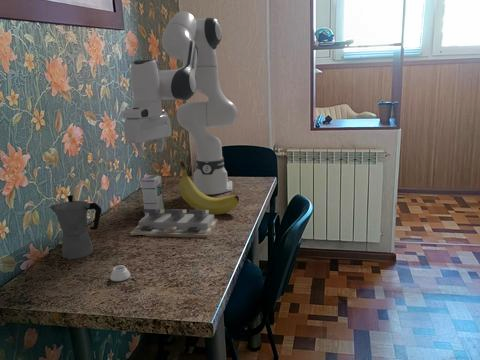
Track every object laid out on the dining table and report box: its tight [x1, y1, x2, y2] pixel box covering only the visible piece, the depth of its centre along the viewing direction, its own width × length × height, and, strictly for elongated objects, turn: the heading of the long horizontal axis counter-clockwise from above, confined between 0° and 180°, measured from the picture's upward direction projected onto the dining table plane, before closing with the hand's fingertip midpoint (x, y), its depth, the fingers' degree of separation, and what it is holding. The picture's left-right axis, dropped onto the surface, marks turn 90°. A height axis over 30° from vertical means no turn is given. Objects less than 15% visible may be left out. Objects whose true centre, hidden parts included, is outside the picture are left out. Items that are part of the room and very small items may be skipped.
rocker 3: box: [188, 209, 209, 218], centre depth 147 cm, size 9×4×2 cm, turn 170°
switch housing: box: [138, 213, 215, 229], centre depth 149 cm, size 9×24×2 cm, turn 80°
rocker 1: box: [142, 208, 166, 217], centre depth 149 cm, size 9×4×2 cm, turn 170°
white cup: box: [109, 264, 131, 282], centre depth 113 cm, size 5×3×5 cm
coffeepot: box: [49, 194, 103, 260], centre depth 128 cm, size 15×9×18 cm, turn 85°
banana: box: [178, 160, 240, 215], centre depth 159 cm, size 23×6×20 cm, turn 78°
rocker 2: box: [165, 208, 188, 217], centre depth 148 cm, size 9×4×2 cm, turn 170°
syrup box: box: [140, 174, 165, 217], centre depth 162 cm, size 6×6×14 cm
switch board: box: [129, 218, 219, 239], centre depth 147 cm, size 15×26×2 cm, turn 80°
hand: (151, 153), depth 142 cm, fingers open, 8 cm apart
